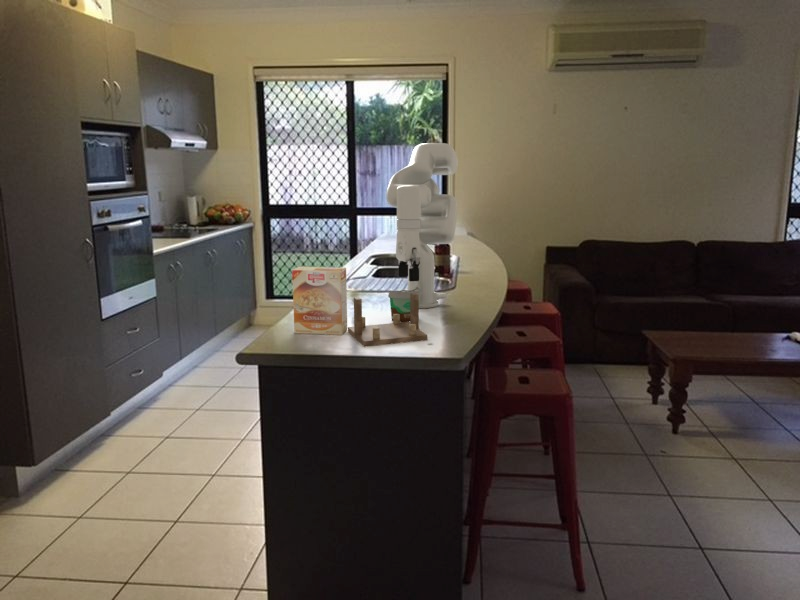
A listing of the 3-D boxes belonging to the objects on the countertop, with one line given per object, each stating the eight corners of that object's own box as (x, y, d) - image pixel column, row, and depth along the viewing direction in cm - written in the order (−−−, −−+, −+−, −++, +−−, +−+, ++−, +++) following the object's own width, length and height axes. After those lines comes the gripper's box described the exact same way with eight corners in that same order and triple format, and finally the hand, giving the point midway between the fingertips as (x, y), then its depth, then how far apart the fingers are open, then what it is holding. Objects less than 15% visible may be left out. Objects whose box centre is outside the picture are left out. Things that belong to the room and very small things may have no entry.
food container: (400, 325, 209) (400, 294, 207) (388, 321, 214) (387, 291, 212) (429, 319, 217) (429, 289, 215) (417, 315, 221) (417, 286, 219)
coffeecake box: (293, 333, 199) (291, 269, 195) (300, 327, 206) (298, 265, 202) (342, 335, 197) (340, 270, 193) (347, 329, 204) (346, 266, 200)
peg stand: (406, 326, 207) (406, 288, 205) (427, 340, 191) (427, 299, 189) (348, 332, 201) (347, 293, 198) (364, 346, 185) (363, 304, 183)
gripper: (388, 223, 215) (388, 275, 218) (407, 227, 199) (407, 283, 202) (410, 223, 218) (410, 274, 221) (430, 226, 202) (429, 282, 205)
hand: (408, 278), depth 212 cm, fingers open, 9 cm apart
